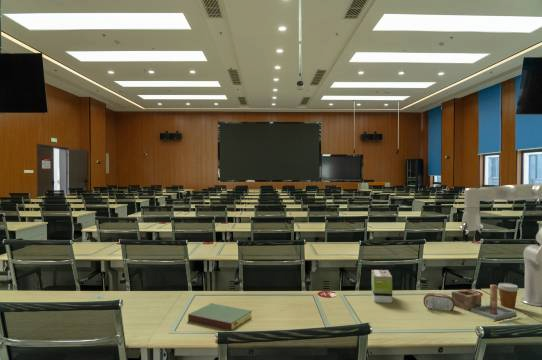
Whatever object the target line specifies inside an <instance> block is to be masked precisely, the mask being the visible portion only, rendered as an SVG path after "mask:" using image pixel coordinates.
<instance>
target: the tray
mask: <svg viewBox="0 0 542 360" xmlns="http://www.w3.org/2000/svg"><path fill="white" fill-rule="evenodd" d="M470 312H471V313H475V314H477V315H479V316H483V317H485V318H489V319H491V320H492V321H493V322H494V323H496V322H500V321H505V320H509V319H514V318H517V311H515V310H511V309H509V308H507V307H503V306H499V305H497V314H491V313H490V304H487V305H481V307H476V308H471V310H470Z"/></svg>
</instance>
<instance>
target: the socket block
mask: <svg viewBox="0 0 542 360" xmlns="http://www.w3.org/2000/svg"><path fill="white" fill-rule="evenodd" d="M451 297H452V298H453V300H454V302H455V306H454V307H457V308H459V309H462V310H464V311H468V312H469V311H471V308H476V307H481V306H482V294H481V293H477V292H475V291H471V290H468V289H461V290H455V291H451Z"/></svg>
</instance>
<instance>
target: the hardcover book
mask: <svg viewBox="0 0 542 360" xmlns="http://www.w3.org/2000/svg"><path fill="white" fill-rule="evenodd" d="M252 312H253V310H249V309H245V308H239V307H233V306H228V305H224V304H223V305H222V304H218V303H209V304H206V305H205V306H202V307H200V308H198V309H196V310H194V311H193V312H190V313H188V314H187V321H188V322H191V323H195V324H196V323H197V324H198V325H199V324H201V325H205V326H209V327H214V328H218V329H223V330H227V329H229V330H228V331H232V330H234V329H235V328H237V327H238V326H240V325H241V323H242V324H243V323H245V322H246V321H248V320H249V319H252Z"/></svg>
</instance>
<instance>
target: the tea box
mask: <svg viewBox="0 0 542 360" xmlns="http://www.w3.org/2000/svg"><path fill="white" fill-rule="evenodd" d="M371 297H372V299H373V302H374V303H387V304H389V303H393V276H392V274H391V272H390V271H389V269H371Z"/></svg>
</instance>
